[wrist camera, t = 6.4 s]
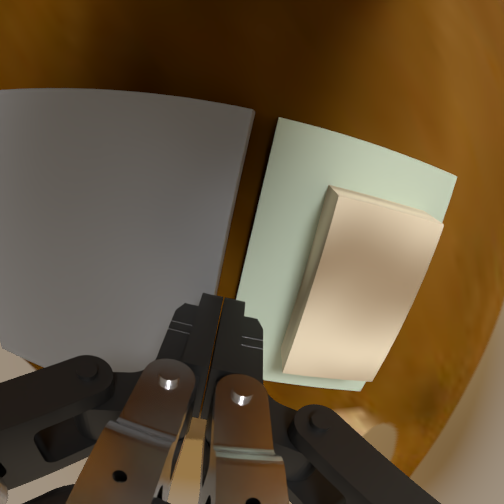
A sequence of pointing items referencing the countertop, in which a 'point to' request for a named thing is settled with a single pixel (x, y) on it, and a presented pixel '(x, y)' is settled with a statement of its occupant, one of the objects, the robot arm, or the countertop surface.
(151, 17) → the countertop surface
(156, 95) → the grey flat block
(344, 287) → the tile
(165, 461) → the robot arm
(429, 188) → the mat
